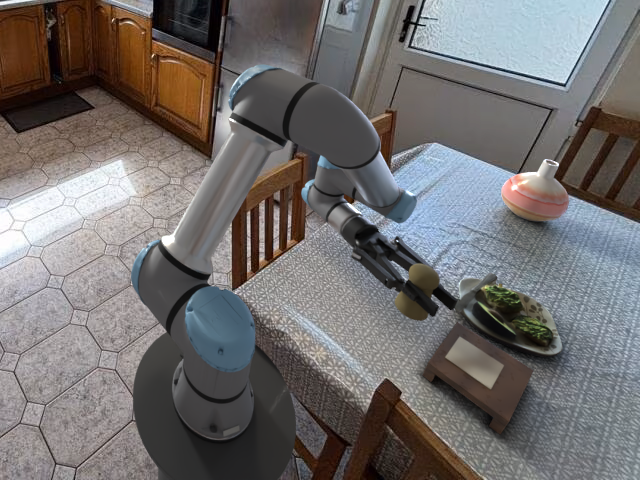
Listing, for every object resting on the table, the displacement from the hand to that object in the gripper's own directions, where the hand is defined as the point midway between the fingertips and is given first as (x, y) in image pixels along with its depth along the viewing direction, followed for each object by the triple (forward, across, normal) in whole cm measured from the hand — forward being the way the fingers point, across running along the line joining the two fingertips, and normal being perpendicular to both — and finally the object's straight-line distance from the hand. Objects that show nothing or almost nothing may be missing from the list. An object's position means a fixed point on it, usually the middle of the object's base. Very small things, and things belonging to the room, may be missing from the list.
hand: (444, 308), depth 80 cm
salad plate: (0, -20, -10) cm, 23 cm away
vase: (-21, -61, -10) cm, 66 cm away
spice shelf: (+8, -2, -10) cm, 13 cm away
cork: (-5, 0, -7) cm, 9 cm away
